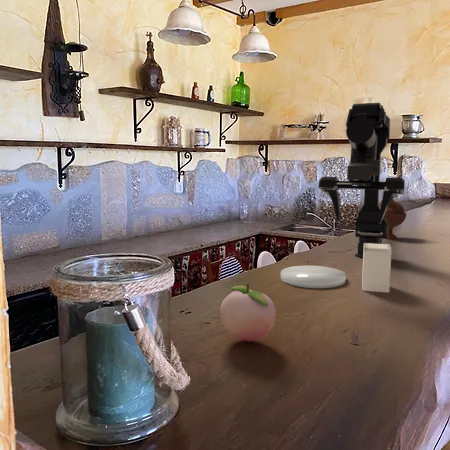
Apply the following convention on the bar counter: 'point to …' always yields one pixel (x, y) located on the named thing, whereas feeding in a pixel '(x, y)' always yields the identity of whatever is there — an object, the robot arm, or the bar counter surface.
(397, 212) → the ice cream bowl
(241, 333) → the decorative fruit
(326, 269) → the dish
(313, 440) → the bar counter surface
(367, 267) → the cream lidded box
